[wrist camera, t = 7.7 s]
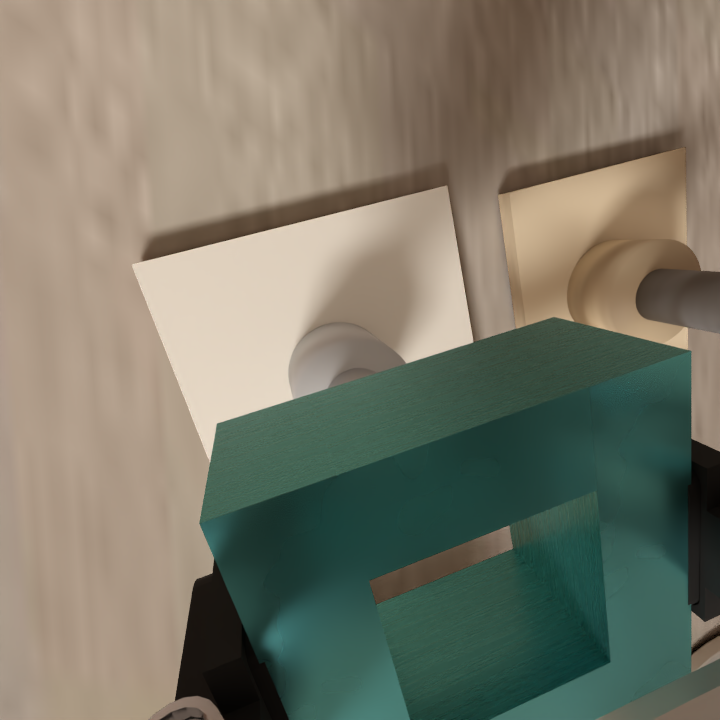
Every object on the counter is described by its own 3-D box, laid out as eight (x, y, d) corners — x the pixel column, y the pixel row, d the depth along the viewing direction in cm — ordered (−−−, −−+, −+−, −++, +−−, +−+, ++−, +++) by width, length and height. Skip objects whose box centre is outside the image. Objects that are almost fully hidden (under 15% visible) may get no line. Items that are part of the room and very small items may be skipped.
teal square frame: (580, 577, 11) (690, 689, 8) (318, 689, 10) (345, 863, 7) (554, 316, 9) (691, 350, 6) (216, 424, 8) (199, 523, 5)
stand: (672, 360, 27) (851, 410, 19) (527, 411, 25) (654, 489, 17) (668, 150, 23) (887, 101, 15) (497, 195, 22) (641, 166, 14)
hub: (482, 443, 25) (620, 562, 16) (241, 528, 23) (232, 725, 14) (438, 187, 21) (590, 142, 11) (137, 263, 19) (20, 283, 9)
